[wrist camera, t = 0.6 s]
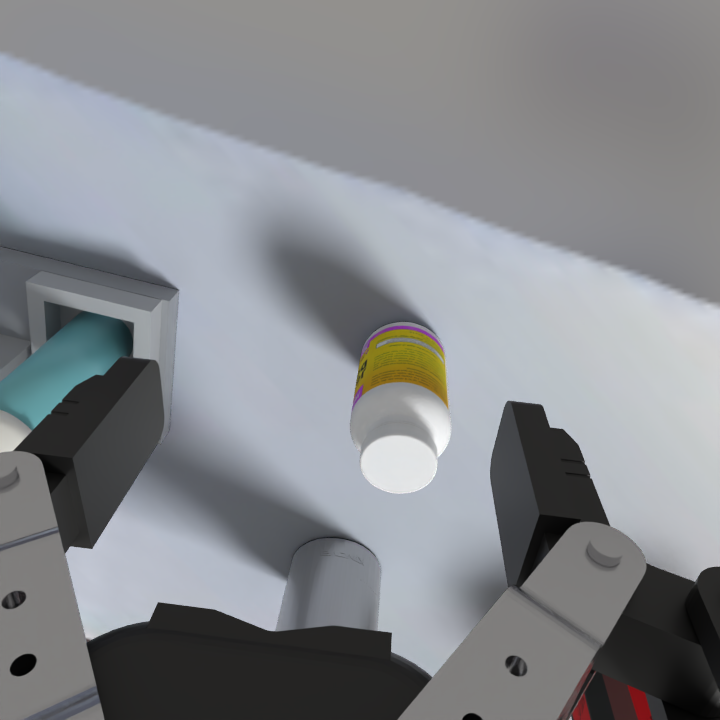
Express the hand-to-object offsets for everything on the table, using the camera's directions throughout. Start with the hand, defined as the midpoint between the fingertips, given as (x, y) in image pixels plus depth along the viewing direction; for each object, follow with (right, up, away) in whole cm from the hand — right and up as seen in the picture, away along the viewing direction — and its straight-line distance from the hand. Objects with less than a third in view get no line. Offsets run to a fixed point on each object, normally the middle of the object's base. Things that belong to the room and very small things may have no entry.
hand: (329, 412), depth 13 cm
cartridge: (-19, +3, +31) cm, 37 cm away
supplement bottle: (+4, +2, +32) cm, 32 cm away
